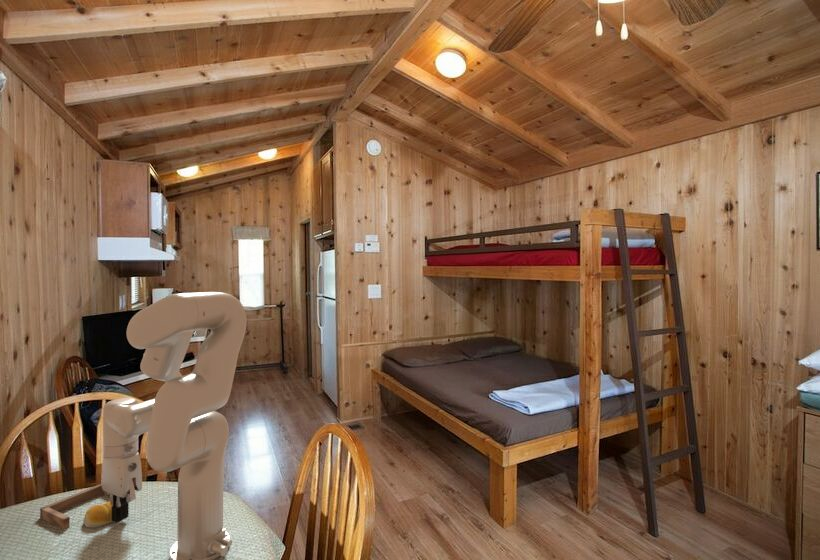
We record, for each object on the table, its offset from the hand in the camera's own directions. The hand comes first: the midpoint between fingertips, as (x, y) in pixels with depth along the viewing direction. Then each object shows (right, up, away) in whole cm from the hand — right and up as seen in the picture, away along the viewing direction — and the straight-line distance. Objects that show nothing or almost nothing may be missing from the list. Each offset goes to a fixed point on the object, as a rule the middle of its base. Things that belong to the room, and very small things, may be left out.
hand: (120, 519), depth 106 cm
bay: (-13, -1, +6) cm, 15 cm away
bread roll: (-5, -1, +2) cm, 6 cm away
